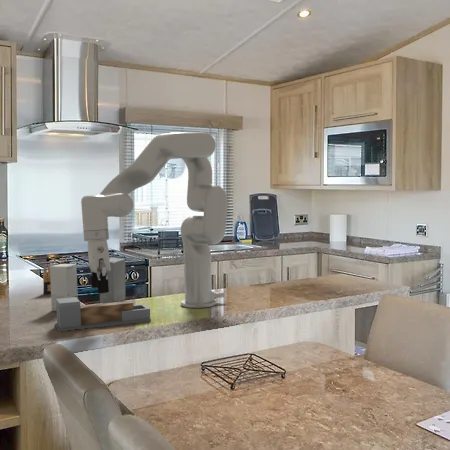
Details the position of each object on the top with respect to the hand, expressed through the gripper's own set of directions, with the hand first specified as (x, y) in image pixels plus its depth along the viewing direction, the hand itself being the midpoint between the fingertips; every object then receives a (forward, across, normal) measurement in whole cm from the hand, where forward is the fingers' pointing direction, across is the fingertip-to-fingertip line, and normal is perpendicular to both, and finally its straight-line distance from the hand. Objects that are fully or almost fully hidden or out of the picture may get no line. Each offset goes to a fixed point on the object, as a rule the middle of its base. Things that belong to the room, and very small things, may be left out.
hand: (100, 289), depth 174 cm
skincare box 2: (+12, +31, -10) cm, 34 cm away
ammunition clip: (+11, +58, +6) cm, 59 cm away
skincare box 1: (+11, +27, +8) cm, 30 cm away
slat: (+10, 0, 0) cm, 10 cm away
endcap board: (+10, 0, 0) cm, 11 cm away
